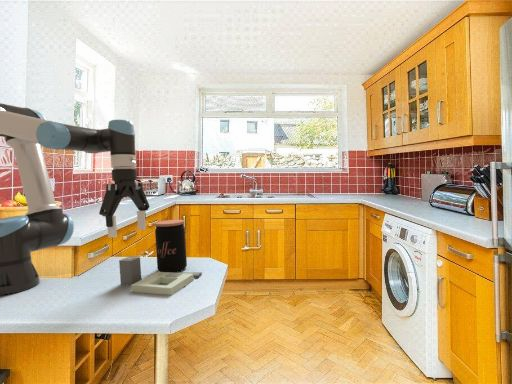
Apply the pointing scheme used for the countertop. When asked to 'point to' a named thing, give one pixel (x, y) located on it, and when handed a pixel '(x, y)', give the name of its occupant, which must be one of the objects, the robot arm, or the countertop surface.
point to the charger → (130, 270)
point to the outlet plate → (153, 281)
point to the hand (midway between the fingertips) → (128, 233)
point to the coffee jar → (170, 246)
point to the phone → (195, 274)
